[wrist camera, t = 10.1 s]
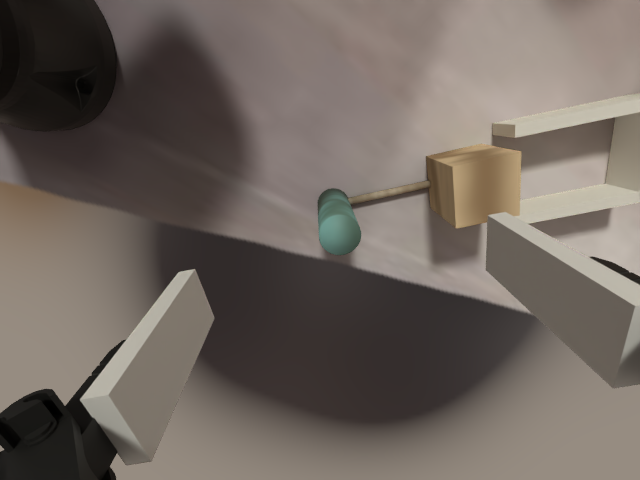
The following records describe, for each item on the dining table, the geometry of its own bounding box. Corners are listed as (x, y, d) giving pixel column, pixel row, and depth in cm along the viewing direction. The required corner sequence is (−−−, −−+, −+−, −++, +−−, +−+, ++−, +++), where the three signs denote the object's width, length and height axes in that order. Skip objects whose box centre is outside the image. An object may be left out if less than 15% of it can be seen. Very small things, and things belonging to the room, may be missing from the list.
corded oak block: (323, 230, 37) (326, 270, 28) (312, 182, 35) (311, 207, 26) (482, 196, 36) (541, 226, 27) (481, 143, 34) (544, 156, 24)
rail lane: (491, 215, 37) (511, 226, 33) (492, 123, 33) (515, 124, 29) (614, 191, 36) (649, 200, 32) (630, 94, 32) (671, 92, 28)
